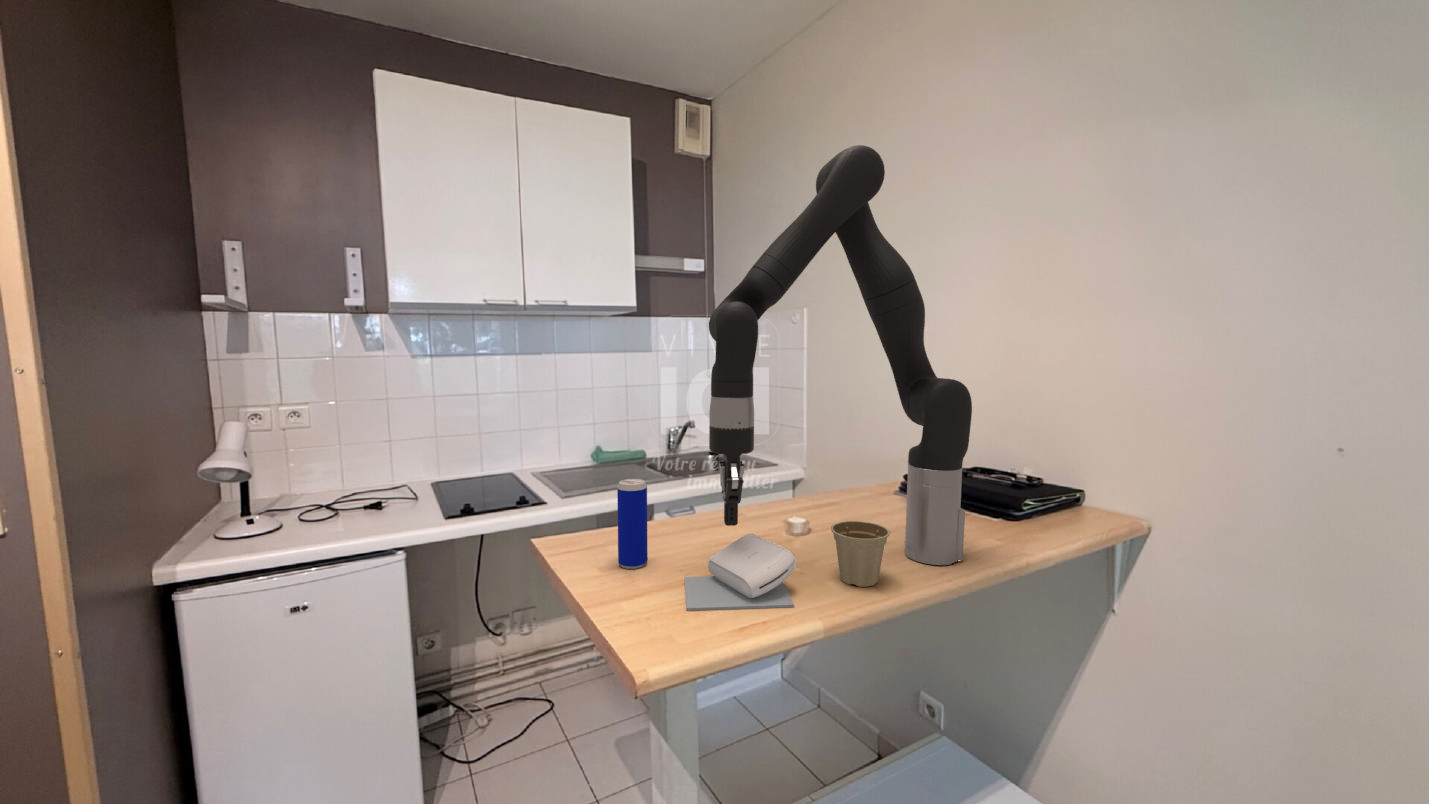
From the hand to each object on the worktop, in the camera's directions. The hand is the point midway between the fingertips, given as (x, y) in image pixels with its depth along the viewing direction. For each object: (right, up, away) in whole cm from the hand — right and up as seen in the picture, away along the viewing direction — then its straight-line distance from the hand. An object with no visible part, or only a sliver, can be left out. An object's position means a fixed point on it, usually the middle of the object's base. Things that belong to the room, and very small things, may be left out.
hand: (730, 524), depth 92 cm
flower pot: (+21, -9, -2) cm, 23 cm away
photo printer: (0, -5, 0) cm, 5 cm away
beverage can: (-17, -8, +4) cm, 20 cm away
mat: (+1, -9, -7) cm, 12 cm away
